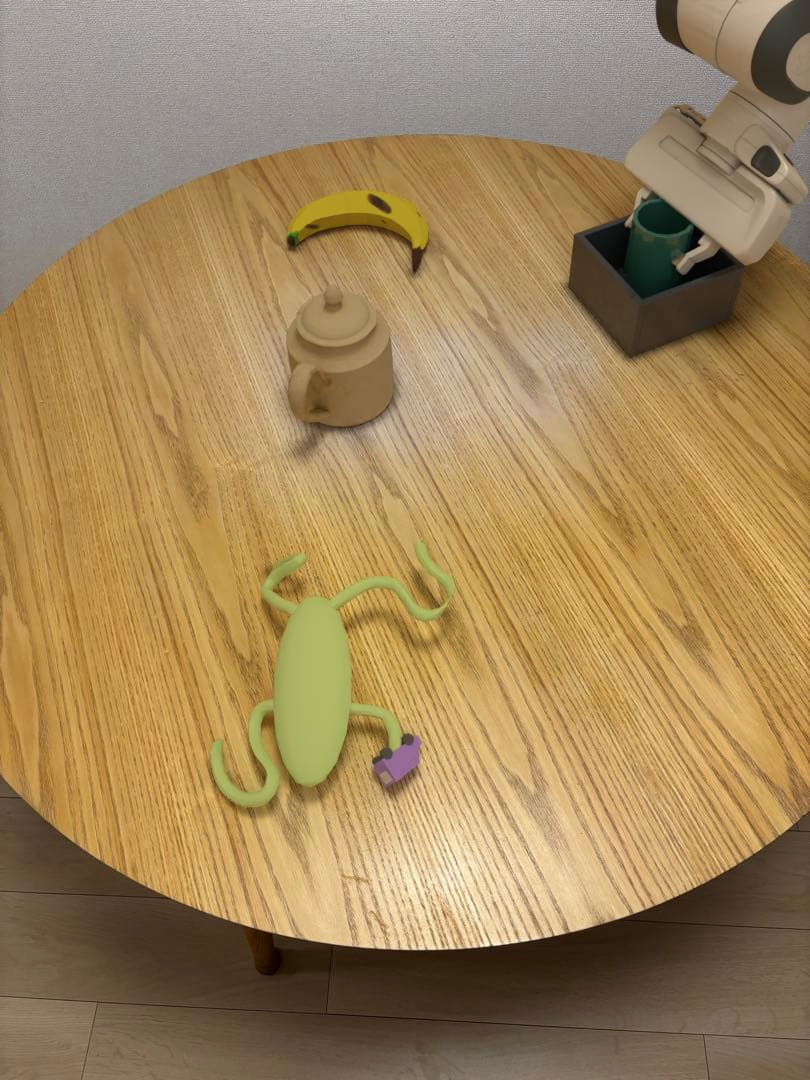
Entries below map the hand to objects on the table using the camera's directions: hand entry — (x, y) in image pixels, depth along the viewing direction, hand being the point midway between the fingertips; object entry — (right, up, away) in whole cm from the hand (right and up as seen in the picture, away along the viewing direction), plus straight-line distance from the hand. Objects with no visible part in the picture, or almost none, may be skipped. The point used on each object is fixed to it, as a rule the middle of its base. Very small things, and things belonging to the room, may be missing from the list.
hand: (653, 250), depth 111 cm
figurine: (-34, -45, -20) cm, 60 cm away
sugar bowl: (-34, -17, -1) cm, 38 cm away
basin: (+1, -4, +6) cm, 8 cm away
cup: (+1, -3, +5) cm, 6 cm away
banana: (-34, +5, +15) cm, 37 cm away
